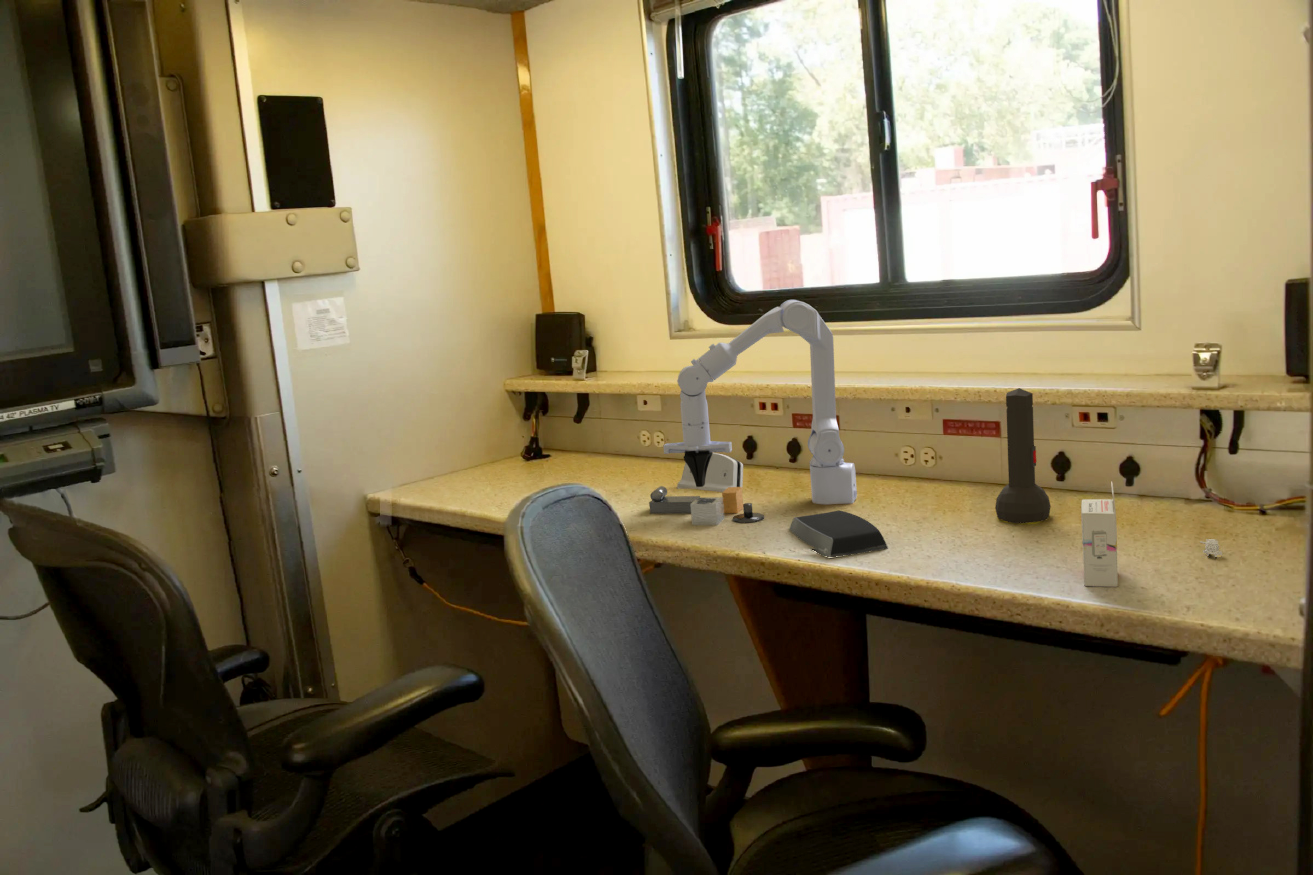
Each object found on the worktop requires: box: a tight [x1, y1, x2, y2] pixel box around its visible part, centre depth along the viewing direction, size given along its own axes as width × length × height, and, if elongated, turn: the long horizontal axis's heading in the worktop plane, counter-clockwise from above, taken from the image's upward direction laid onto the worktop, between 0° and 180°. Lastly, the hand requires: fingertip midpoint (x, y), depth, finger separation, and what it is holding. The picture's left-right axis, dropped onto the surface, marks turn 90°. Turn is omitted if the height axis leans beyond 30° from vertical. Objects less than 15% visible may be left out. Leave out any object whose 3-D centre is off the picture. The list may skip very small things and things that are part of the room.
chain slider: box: [721, 486, 744, 514], centre depth 222 cm, size 18×5×4 cm, turn 71°
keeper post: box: [732, 502, 765, 524], centre depth 212 cm, size 6×6×3 cm
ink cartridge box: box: [1080, 480, 1119, 588], centre depth 160 cm, size 9×5×15 cm, turn 158°
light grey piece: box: [676, 452, 744, 493], centre depth 244 cm, size 17×5×10 cm, turn 47°
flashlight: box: [994, 387, 1052, 524], centre depth 196 cm, size 10×25×10 cm
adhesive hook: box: [1199, 538, 1223, 558], centre depth 166 cm, size 3×3×3 cm
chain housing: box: [648, 485, 701, 515], centre depth 224 cm, size 10×5×5 cm, turn 71°
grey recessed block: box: [690, 496, 726, 526], centre depth 212 cm, size 5×5×4 cm
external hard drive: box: [788, 510, 889, 558], centre depth 194 cm, size 13×19×4 cm
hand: (700, 485), depth 220 cm, fingers closed
